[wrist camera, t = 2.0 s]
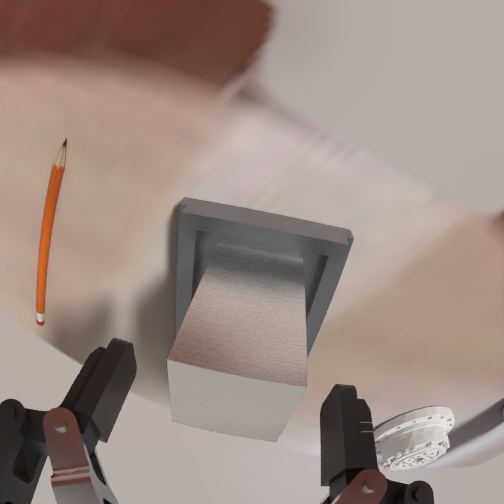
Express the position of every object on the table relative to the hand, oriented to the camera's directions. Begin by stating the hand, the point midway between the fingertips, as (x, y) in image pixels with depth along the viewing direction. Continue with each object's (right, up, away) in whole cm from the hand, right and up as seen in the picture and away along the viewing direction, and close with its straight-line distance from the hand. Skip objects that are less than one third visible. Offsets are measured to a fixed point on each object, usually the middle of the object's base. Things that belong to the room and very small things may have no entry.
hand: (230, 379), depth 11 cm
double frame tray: (0, -2, +10) cm, 10 cm away
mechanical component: (+19, -15, +15) cm, 28 cm away
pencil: (-15, +5, +9) cm, 18 cm away
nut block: (+1, +3, +6) cm, 7 cm away
